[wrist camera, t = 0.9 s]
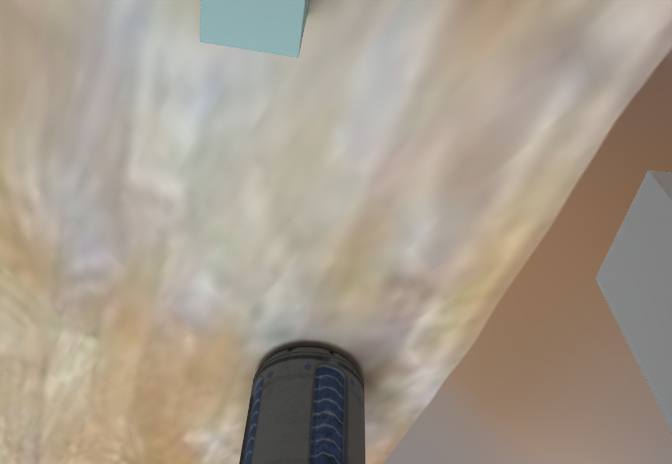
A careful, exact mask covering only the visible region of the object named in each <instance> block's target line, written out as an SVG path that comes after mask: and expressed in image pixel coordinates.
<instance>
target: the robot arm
mask: <svg viewBox="0 0 672 464" xmlns="http://www.w3.org/2000/svg"><path fill="white" fill-rule="evenodd" d="M595 279H596V281H597V283H598V285H599V287H600V289H601V291H602V293H603V295H604V296H605V299H606V301H607V303H608V305H609V307H610V309H611V311H612V313H613V315H614V317H615V319H616V321H617V323H618V325H619V327H620V329H621V331H622V333H623V335H624V337H625V339H626V341H627V343H628V345H629V347H630V349H631V352H632V353H633V356H634V357H635V360H636V362H637V364H638V366H639V368H640V370H641V372H642V374H643V376H644V378H645V380H646V382H647V384H648V386H649V388H650V390H651V392H652V394H653V396H654V398H655V400H656V402H657V404H658V406H659V408H660V410H661V412H662V414H663V416H664V418H665V420H666V422H667V424H668V426H669V428H670V430H671V432H672V173H667V172H659V171H650V170H648V172H647V174H646V176H645V178H644V180H643V182H642V184H641V186H640V188H639V190H638V192H637V194H636V196H635V198H634V200H633V202H632V204H631V206H630V208H629V211H628V213H627V215H626V217H625V219H624V221H623V223H622V225H621V227H620V229H619V231H618V233H617V235H616V237H615V239H614V241H613V243H612V246H611V247H610V249H609V251H608V253H607V255H606V258H605V260H604V262H603V264H602V266H601V268H600V270H599V272H598V274H597V276H596V278H595Z"/></svg>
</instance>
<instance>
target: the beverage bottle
mask: <svg viewBox="0 0 672 464" xmlns="http://www.w3.org/2000/svg"><path fill="white" fill-rule="evenodd" d="M239 464H365V415H364V384H363V381H362V378H361V377H360V375H359V374H358V372H357V371H356V369H355V368H354V366H353V365H352V364H351V363H350V362H349V361H348V360H347V359H345V358H344V357H342V356H341V355H339V354H337V353H335V352H332V354H330V351H329V350H326V349H322V348H316V347H297V348H293V350H292V351H290V349H287V350H284V351H281V352H279V353H277V354H275V355H273V356H272V357H271V358H269V359H268V360H267V361H266V362H265V363H264V364H263V365H262V366H261V368H260V369H259V370H258V371H257V373H256V375H255V377H254V380H253V386H252V392H251V398H250V404H249V410H248V416H247V422H246V427H245V433H244V439H243V445H242V451H241V457H240V463H239Z"/></svg>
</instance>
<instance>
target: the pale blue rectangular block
mask: <svg viewBox="0 0 672 464" xmlns="http://www.w3.org/2000/svg"><path fill="white" fill-rule="evenodd" d="M308 2H309V0H201V9H200V42H203V43H209V44H216V45H222V46H228V47H235V48H241V49H247V50H254V51H260V52H267V53H273V54H279V55H286V56H292V57H299V52H300V47H301V42H302V37H303V32H304V28H305V23H306V18H307V11H308Z"/></svg>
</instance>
